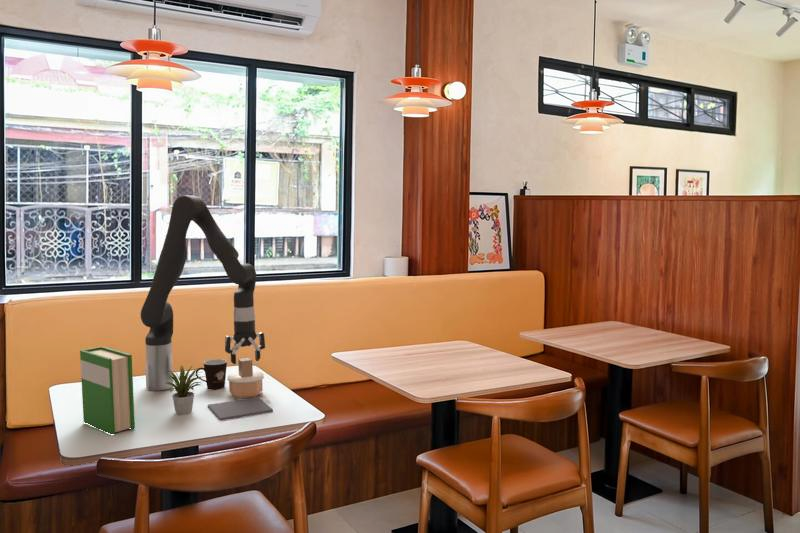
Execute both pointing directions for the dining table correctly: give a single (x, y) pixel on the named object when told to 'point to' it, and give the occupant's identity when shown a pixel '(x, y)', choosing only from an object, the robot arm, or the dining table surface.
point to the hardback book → (107, 389)
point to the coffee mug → (214, 373)
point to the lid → (245, 373)
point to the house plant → (183, 391)
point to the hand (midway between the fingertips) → (245, 362)
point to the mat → (239, 408)
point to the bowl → (245, 389)
